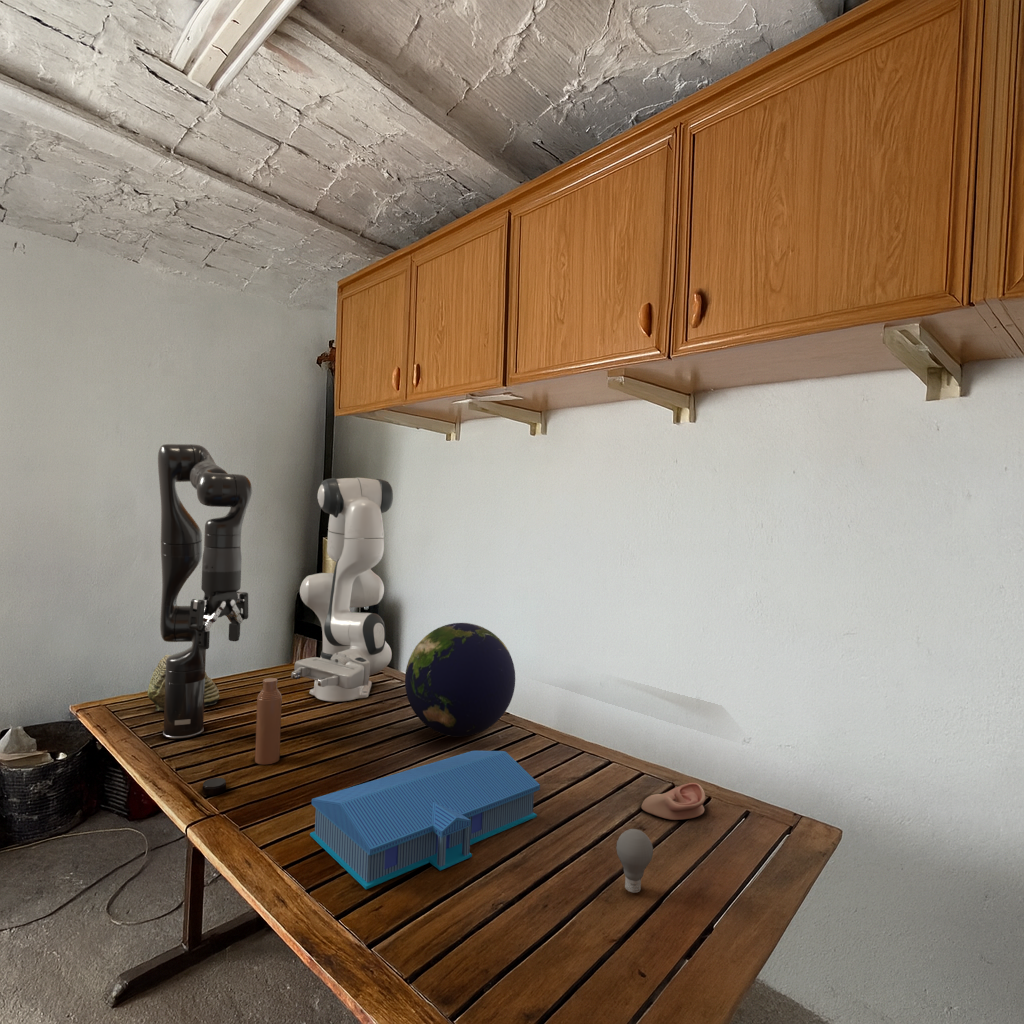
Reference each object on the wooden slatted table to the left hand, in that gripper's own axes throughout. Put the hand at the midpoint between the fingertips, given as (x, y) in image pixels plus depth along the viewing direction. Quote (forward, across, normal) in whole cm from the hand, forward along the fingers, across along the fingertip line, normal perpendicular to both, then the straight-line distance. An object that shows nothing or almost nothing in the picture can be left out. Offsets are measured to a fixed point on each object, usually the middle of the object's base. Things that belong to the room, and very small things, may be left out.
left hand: (219, 644), depth 134 cm
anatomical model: (+31, +31, -93) cm, 103 cm away
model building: (+31, +4, -49) cm, 58 cm away
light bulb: (+31, -2, -88) cm, 94 cm away
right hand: (+15, +29, -1) cm, 32 cm away
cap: (+30, 0, 0) cm, 30 cm away
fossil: (+31, +38, +47) cm, 68 cm away
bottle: (+31, +17, 0) cm, 36 cm away
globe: (+31, +52, -34) cm, 69 cm away
